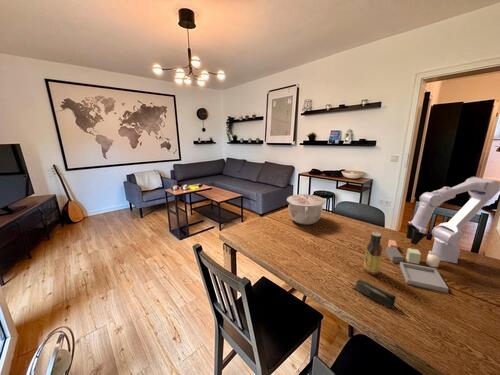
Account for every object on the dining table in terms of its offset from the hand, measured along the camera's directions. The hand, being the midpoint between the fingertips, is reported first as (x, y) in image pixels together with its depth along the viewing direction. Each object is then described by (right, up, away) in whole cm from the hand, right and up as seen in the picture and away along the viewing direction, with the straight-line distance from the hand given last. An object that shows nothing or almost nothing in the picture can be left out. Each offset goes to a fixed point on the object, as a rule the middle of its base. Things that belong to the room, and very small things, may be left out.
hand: (410, 241), depth 104 cm
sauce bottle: (-24, -13, -6) cm, 27 cm away
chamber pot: (-40, +2, +51) cm, 65 cm away
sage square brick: (+2, -10, +1) cm, 11 cm away
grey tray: (-4, -14, -11) cm, 18 cm away
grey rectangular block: (-6, -10, +5) cm, 12 cm away
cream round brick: (+9, -11, -2) cm, 14 cm away
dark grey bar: (-32, -17, -20) cm, 41 cm away
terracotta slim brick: (-1, -7, +13) cm, 15 cm away
